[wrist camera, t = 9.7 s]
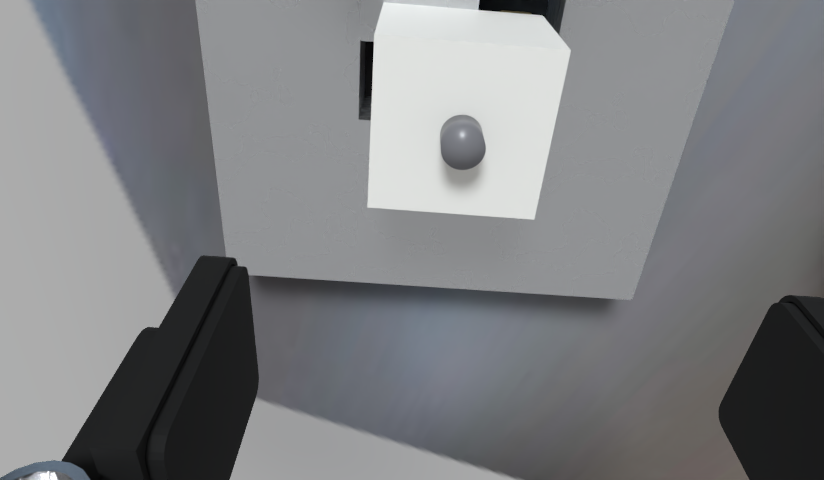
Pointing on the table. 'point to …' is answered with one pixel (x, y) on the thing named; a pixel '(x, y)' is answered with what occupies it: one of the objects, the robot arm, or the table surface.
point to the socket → (443, 232)
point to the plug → (462, 109)
